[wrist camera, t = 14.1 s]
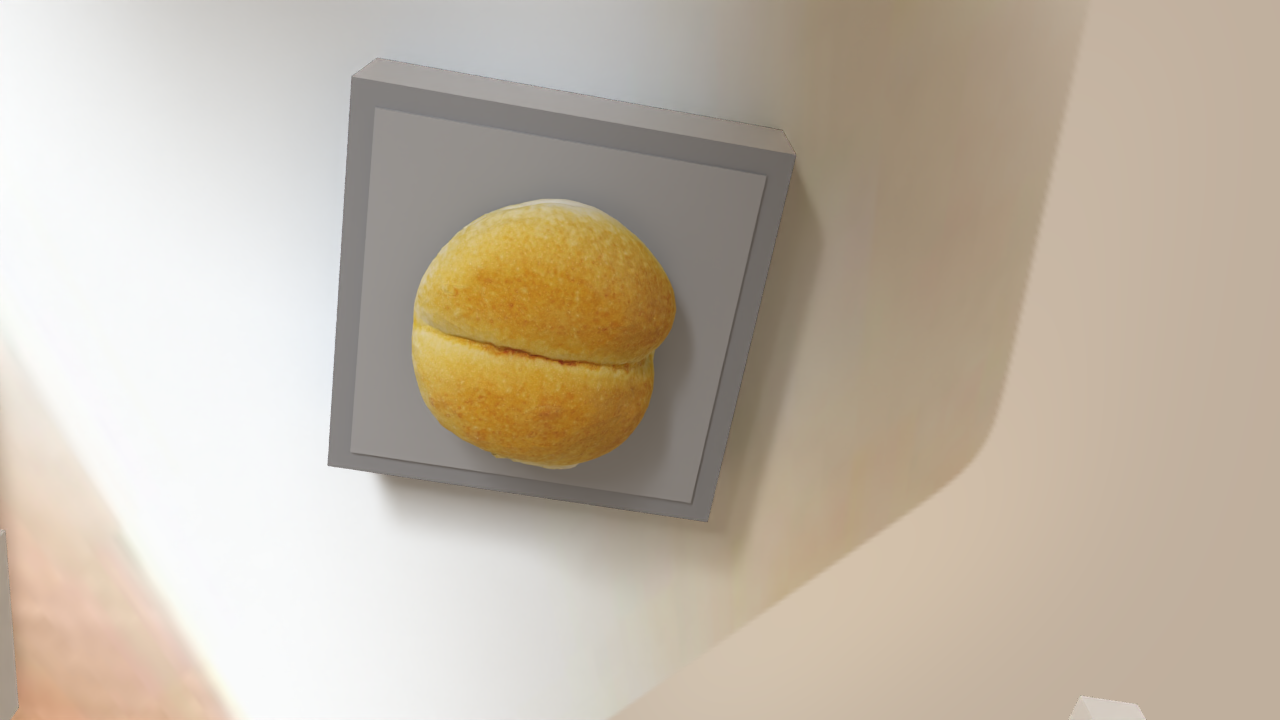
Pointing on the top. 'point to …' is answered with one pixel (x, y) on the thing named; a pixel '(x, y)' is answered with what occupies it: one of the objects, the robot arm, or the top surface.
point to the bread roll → (541, 332)
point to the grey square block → (531, 170)
